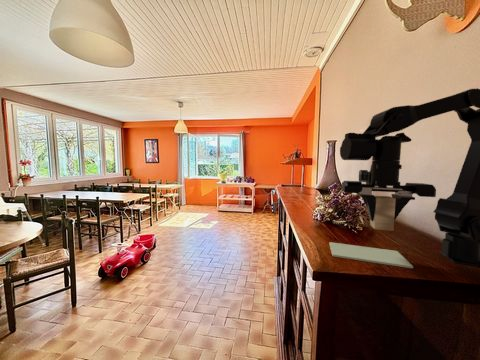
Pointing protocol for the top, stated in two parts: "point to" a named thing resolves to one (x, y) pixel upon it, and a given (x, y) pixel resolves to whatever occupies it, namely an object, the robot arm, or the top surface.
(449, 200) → the robot arm
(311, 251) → the top surface
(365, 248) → the sage mat
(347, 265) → the top surface
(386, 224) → the maple block
